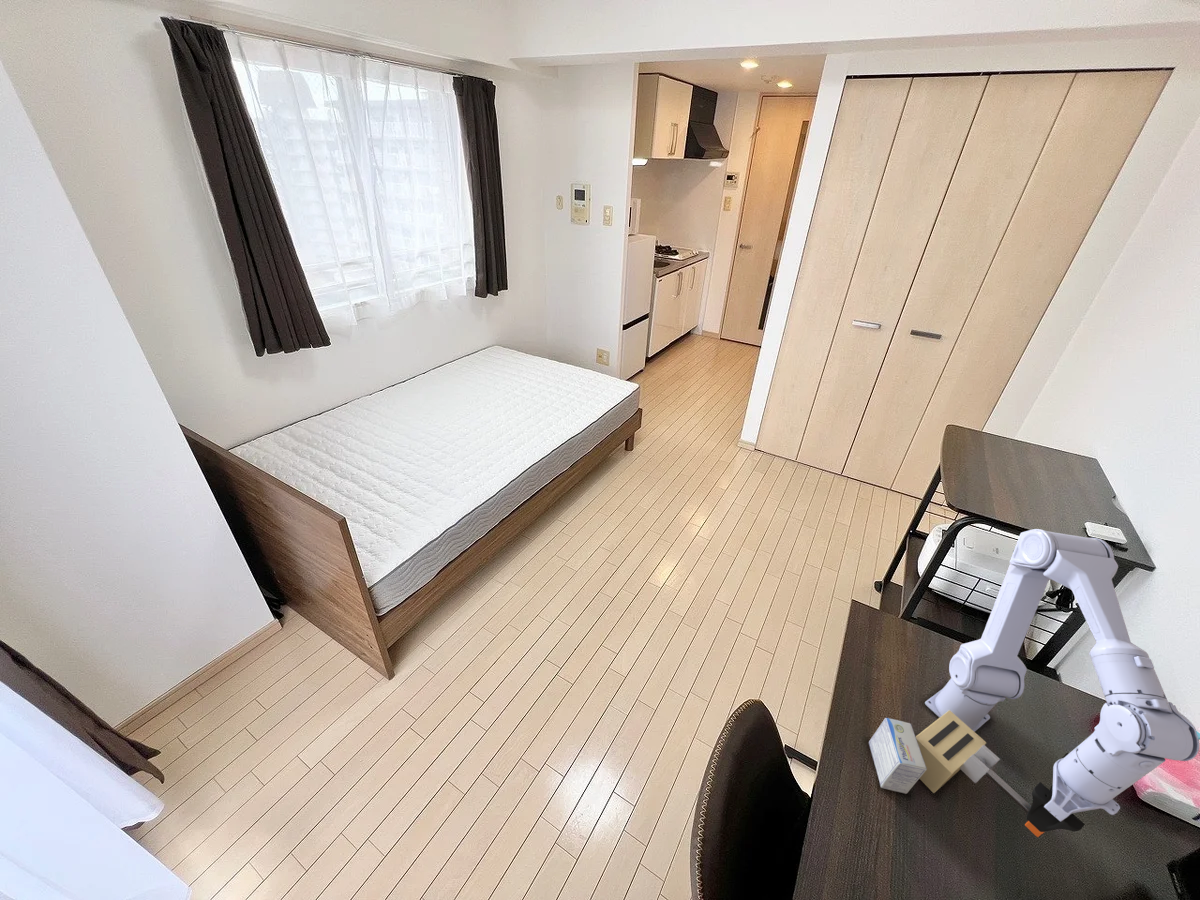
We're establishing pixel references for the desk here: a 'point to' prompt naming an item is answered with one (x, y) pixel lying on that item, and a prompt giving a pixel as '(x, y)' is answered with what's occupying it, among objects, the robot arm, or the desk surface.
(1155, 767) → the robot arm
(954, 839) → the desk surface
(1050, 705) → the desk surface
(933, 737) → the toaster
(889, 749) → the medicine box
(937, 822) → the desk surface
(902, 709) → the desk surface
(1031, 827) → the lever
